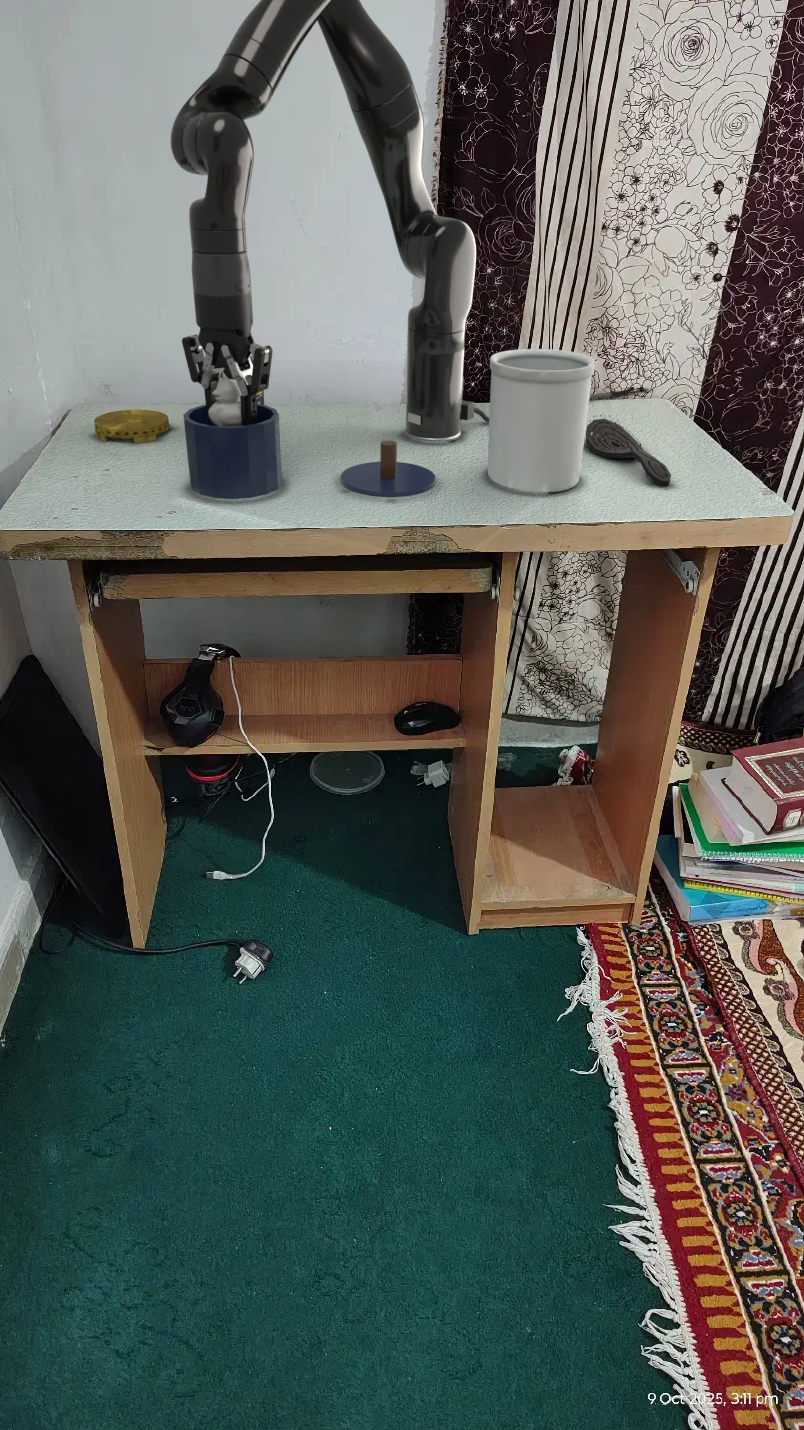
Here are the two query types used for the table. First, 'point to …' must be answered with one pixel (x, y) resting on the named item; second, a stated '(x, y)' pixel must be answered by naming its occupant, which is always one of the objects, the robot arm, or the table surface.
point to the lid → (388, 475)
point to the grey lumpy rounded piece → (226, 404)
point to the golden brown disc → (131, 425)
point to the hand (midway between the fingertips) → (231, 417)
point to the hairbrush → (623, 448)
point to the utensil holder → (538, 418)
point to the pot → (233, 455)
